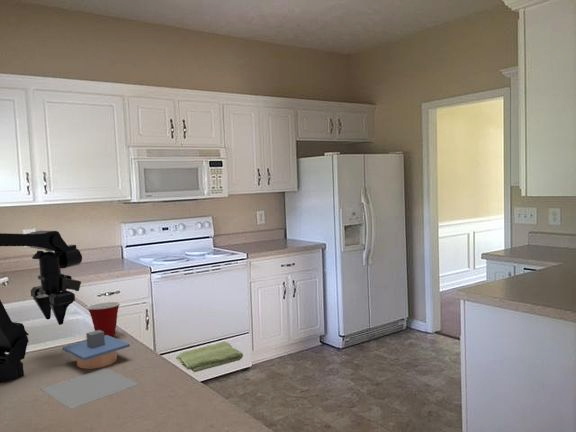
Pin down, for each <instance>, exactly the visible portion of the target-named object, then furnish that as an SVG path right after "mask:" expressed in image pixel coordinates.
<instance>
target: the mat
mask: <svg viewBox="0 0 576 432" xmlns="http://www.w3.org/2000/svg"><path fill="white" fill-rule="evenodd" d="M138 385H139V383H138V382H135V381H133V380H131V379H129V378H127V377H125V376H123V375H121V374H119V373H117V372H115V371H113V370H111V369H109V368H107V367H102V368H99V369H97V370H94V371H92V372H89V373H85V374H82V375H79V376H76V377H72V378H69V379H67V380H64V381H59V382H58V383H55V384H52V385H49V386H45V387H41V388H40V390H42V391H43V392H44V393H46V394H47V395H48V396H51V397H52V398H54V399H55V400H56V401H58V402H59V403H61V405H64V406H65V407H67V408H68V409H70V410H72V409H75V408H77V407H80V406H83V405H86V404H89V403H91V402H93V401H96V400H99V399H102V398H105V397H108V396H110V395H114V394H115V393H116V394H117V393H118V392H121V391H124V390H126V389H129V388H132V387H135V386H138Z"/></svg>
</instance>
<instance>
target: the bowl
mask: <svg viewBox="0 0 576 432" xmlns="http://www.w3.org/2000/svg"><path fill="white" fill-rule="evenodd" d="M117 352H118V351H114V352H111V353H107V354H104V355H101V356H97V357H94V358H91V359H87V360H82V359H80V358H78V357H76V356H75V357H76V358H75V359H76V367H79V368H81V369H88V370H89V369H91V370H92V369H101V368H105V367H106V366H110V365H112V364H113V363H115V362H117V360H118V359H117V356H118V354H117Z"/></svg>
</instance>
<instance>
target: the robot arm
mask: <svg viewBox="0 0 576 432" xmlns="http://www.w3.org/2000/svg"><path fill="white" fill-rule="evenodd" d="M0 247H27V248H28V247H29V248H32V249H36V250H37V251H36V253H35V254H33V255H32V257H31V258H32V260H38V265H39V275H37V279H38V280H40V285H38V286H33V287H32V288H31V289H30V297H32V300H33V301H34V302H35V304H36V305H37V306H38V308H39V309H40V311H41V313H42V315H43V316H44V317H45V319H46V320H51V316H52V313H53V316H54V317H55V319H56V321H57V324H58V325H59V326H60V325H63V324H64V321H65V316H66V312H67V310H68V307H69V306H70V305H72V304H73V302H75V301H76V294H75V293H73V291H75V292H80V288H81V286H82V285H81V283H82V281H80V280H76V279H73V278H72V275H68V274H64V273H62V271H61V270H62V269H67V268H71V267H75V266H78V265H81V264H82V262H83V255H82V253H81V252H80V250H79V249H78V248H77V245H76V244H69V245H68V244H67V243H66V241H65V240H64V239H63V238H62V235H61V234H60V231H58V230H36V231H32V232H29V233H6V232H5V233H1V232H0ZM44 251H45V252H44ZM69 290H72V291H69ZM28 336H29V333H28V332H27V331H26V329H25V325H24V324H23V323H21V322H13V320H12V319H11V317H10V315H9V314H8V312H7V309H6V308H5V306H4V304H3V302H2V300H1V299H0V384H3V383H10V382H13V381H16V380H18V379H19V378H23V377H25V371H24V363H23V361H22V360H24V359H25V358H26V354H27V353H26V351H27V346H28V343H29V337H28Z"/></svg>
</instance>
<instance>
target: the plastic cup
mask: <svg viewBox="0 0 576 432" xmlns="http://www.w3.org/2000/svg"><path fill="white" fill-rule="evenodd" d="M120 304H121V303H120V302H119V301H108V302H99V303H94V304H91V305H88V306H87V307H86V309H87V310H88V313H89V314H90V315H89V316H90V317H91V321H92V325H93V329H94V331H97V330H101V331H103V332H104V336H105V335H108V336H111V337H113V338H116V337H115V336H116V329H117V323H118V322H117V321H118V320H117V319H118V313H119V311H118V310H119V307H120Z"/></svg>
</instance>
